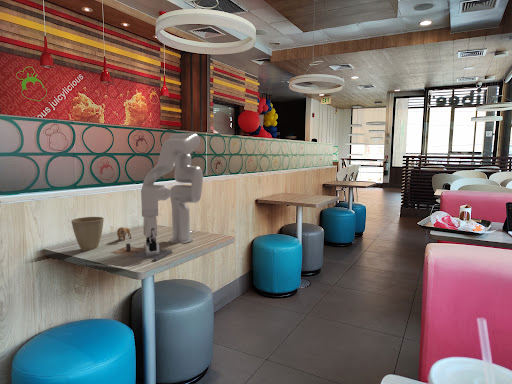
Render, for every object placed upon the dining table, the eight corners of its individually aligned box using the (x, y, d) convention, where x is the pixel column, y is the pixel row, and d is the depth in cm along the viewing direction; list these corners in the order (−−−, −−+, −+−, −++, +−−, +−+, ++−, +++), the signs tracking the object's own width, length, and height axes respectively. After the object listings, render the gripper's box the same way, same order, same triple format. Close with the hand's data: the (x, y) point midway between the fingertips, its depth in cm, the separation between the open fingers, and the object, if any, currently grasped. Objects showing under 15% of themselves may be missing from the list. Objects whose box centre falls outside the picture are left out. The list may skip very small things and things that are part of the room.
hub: (147, 250, 176) (147, 240, 176) (172, 252, 172) (171, 243, 172) (130, 258, 163) (129, 248, 163) (156, 261, 159) (155, 250, 158)
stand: (126, 248, 180) (125, 240, 180) (146, 250, 177) (145, 241, 176) (110, 255, 169) (109, 246, 168) (131, 257, 165) (130, 248, 165)
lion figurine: (125, 244, 189) (125, 228, 188) (115, 244, 188) (114, 228, 187) (132, 237, 203) (132, 222, 202) (123, 237, 203) (122, 222, 202)
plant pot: (110, 249, 179) (108, 218, 177) (79, 255, 168) (77, 223, 166) (98, 244, 189) (96, 215, 187) (68, 249, 178) (66, 219, 176)
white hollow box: (144, 253, 169) (143, 243, 168) (156, 251, 172) (156, 241, 171) (146, 256, 163) (146, 246, 163) (159, 254, 166) (159, 244, 166)
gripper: (138, 210, 171) (140, 245, 173) (145, 216, 156) (147, 254, 158) (154, 209, 175) (155, 243, 177) (162, 215, 159) (163, 252, 161)
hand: (151, 248), depth 167 cm, fingers open, 7 cm apart
